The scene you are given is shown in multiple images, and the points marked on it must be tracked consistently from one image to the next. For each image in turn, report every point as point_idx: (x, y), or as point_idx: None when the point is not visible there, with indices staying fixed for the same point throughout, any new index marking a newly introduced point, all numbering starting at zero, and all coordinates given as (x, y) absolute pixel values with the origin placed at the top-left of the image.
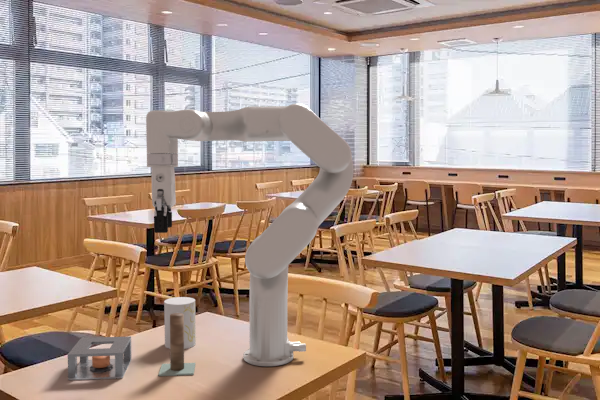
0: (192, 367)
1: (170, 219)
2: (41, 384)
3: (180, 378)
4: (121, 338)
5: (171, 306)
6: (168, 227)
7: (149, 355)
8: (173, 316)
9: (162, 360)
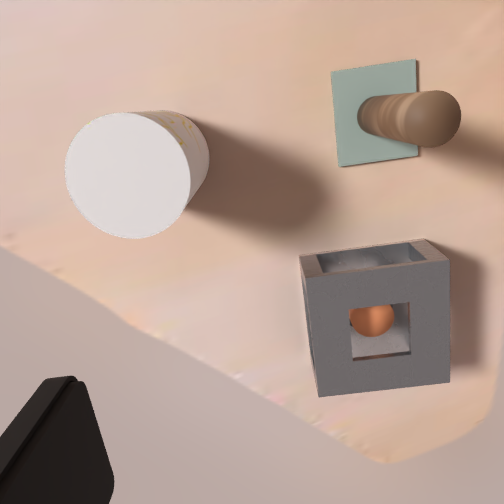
0: (371, 72)
1: (40, 452)
2: (443, 388)
3: None
4: (324, 298)
5: (189, 196)
6: (84, 401)
7: (262, 220)
8: (456, 127)
9: (299, 175)
